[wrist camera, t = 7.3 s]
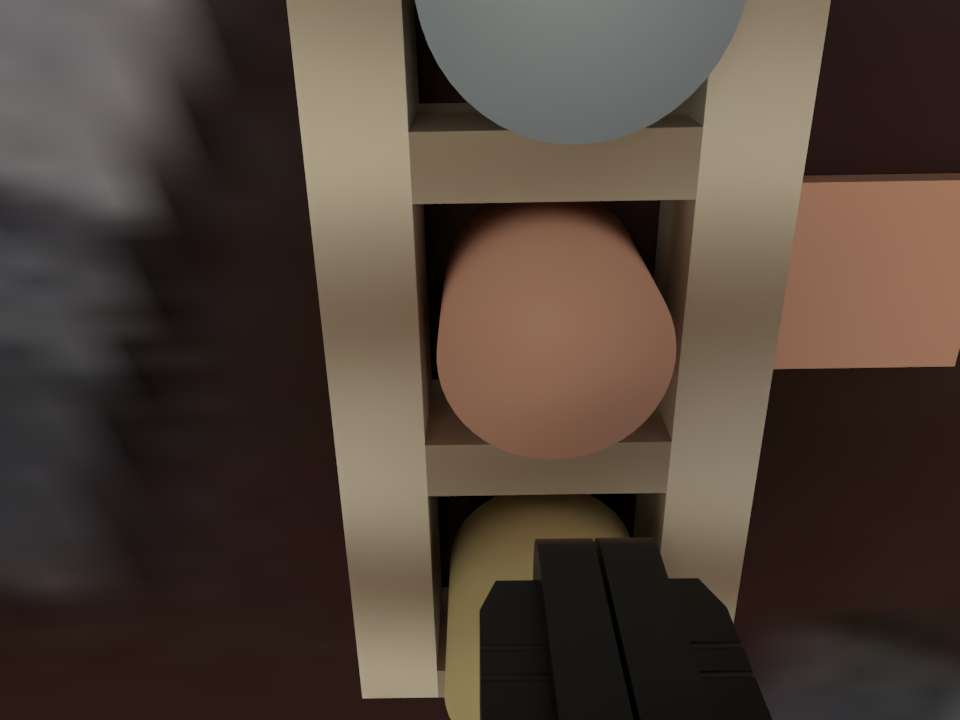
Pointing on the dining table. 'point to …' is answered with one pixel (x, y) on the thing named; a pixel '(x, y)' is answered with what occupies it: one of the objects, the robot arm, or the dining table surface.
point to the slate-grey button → (577, 60)
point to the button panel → (541, 178)
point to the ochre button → (505, 571)
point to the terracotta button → (551, 329)
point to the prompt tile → (873, 273)
